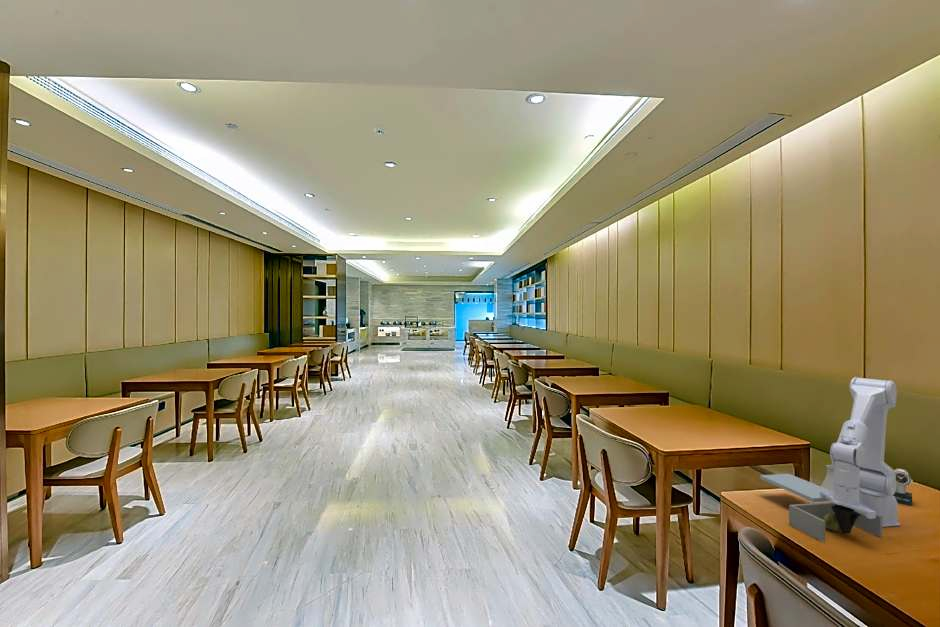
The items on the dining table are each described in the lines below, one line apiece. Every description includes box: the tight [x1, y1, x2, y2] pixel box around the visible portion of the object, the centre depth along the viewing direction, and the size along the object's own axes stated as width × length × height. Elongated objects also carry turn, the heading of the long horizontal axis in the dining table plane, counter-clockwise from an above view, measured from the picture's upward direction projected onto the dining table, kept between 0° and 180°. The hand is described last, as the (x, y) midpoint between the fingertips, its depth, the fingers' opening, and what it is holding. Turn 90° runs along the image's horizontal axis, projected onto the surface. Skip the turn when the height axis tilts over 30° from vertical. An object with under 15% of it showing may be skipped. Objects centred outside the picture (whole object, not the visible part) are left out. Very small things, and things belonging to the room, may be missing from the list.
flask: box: [820, 464, 834, 492], centre depth 160 cm, size 7×7×10 cm
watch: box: [893, 468, 914, 507], centre depth 154 cm, size 6×8×11 cm
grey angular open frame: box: [788, 501, 883, 542], centre depth 132 cm, size 20×11×6 cm, turn 100°
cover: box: [759, 473, 834, 503], centre depth 148 cm, size 21×13×1 cm, turn 10°
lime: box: [823, 513, 841, 532], centre depth 132 cm, size 4×5×5 cm
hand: (845, 532), depth 129 cm, fingers closed
